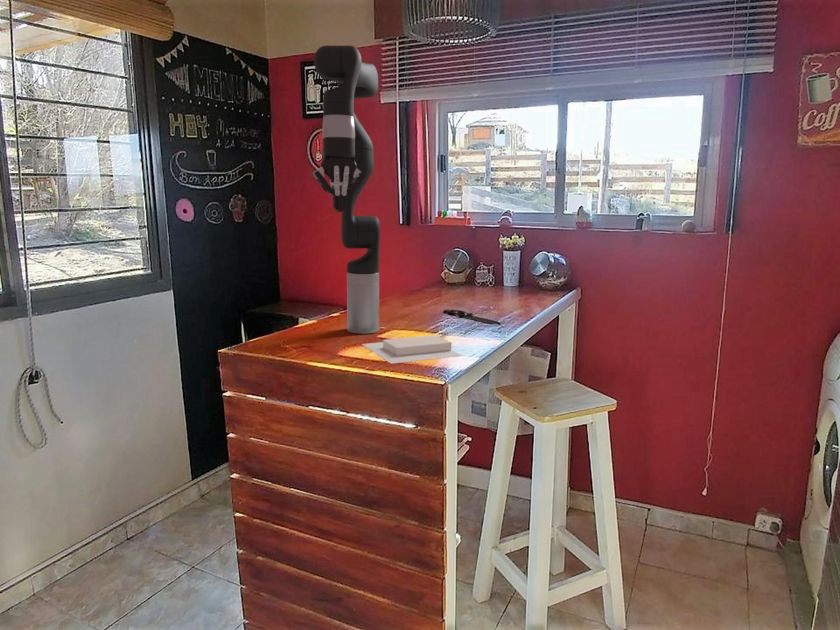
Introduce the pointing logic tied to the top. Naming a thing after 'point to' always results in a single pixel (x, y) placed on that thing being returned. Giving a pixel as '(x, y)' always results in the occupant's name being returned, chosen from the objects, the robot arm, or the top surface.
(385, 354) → the mat
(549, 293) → the top surface
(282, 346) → the top surface
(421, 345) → the tile
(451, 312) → the knife
